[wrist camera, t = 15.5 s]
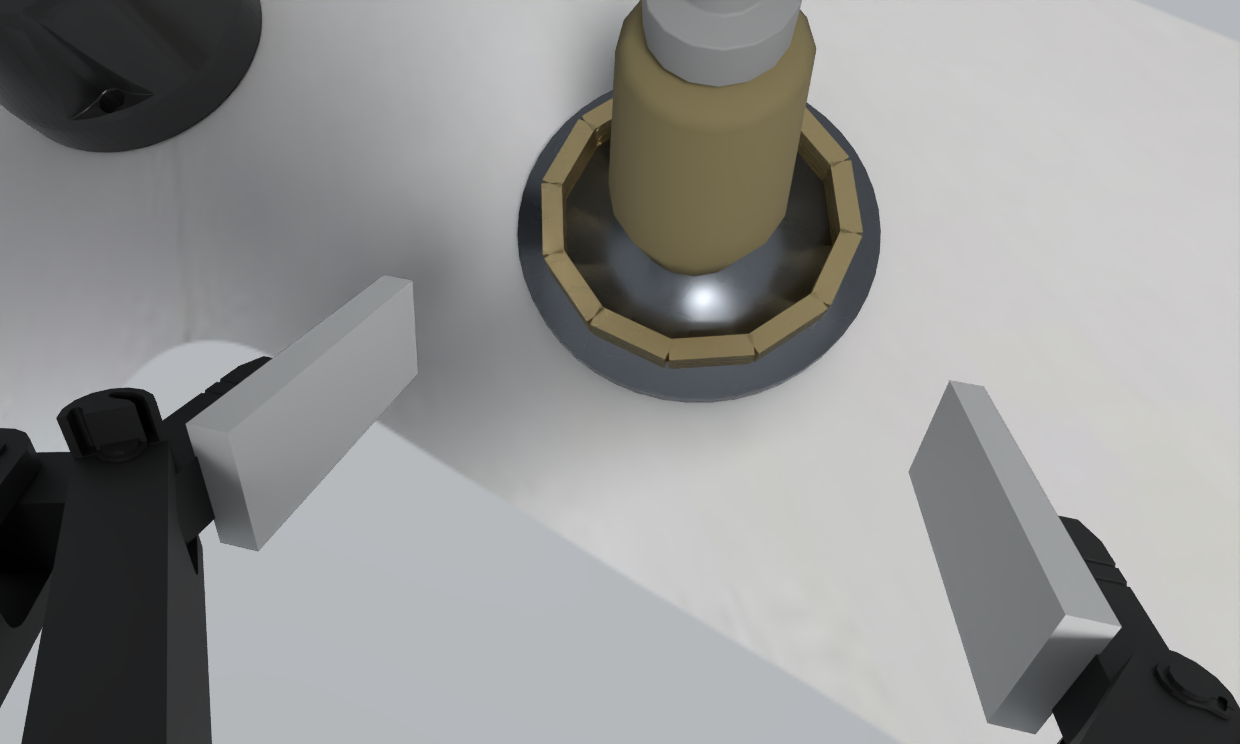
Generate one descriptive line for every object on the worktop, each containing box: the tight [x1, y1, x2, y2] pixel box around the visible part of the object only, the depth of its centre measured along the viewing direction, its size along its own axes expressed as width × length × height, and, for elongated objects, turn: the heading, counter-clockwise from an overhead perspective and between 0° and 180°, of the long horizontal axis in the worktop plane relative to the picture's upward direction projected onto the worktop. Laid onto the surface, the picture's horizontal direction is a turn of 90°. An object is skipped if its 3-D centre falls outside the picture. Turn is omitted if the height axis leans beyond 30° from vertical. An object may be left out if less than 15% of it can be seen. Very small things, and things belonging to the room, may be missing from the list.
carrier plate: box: [518, 90, 881, 402], centre depth 32 cm, size 18×18×2 cm
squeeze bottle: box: [608, 0, 816, 276], centre depth 24 cm, size 8×8×18 cm
